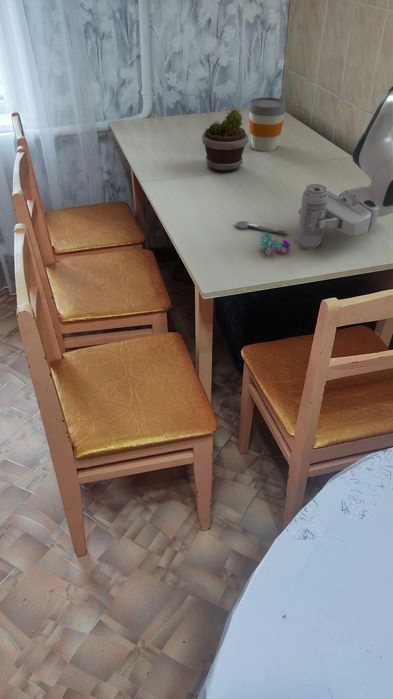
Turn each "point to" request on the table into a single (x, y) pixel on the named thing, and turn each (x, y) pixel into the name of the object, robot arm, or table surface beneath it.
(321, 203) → the energy drink can
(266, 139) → the reusable coffee cup
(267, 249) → the anatomy model
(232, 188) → the table surface
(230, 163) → the flowerpot
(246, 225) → the grey flat-headed rod tool
